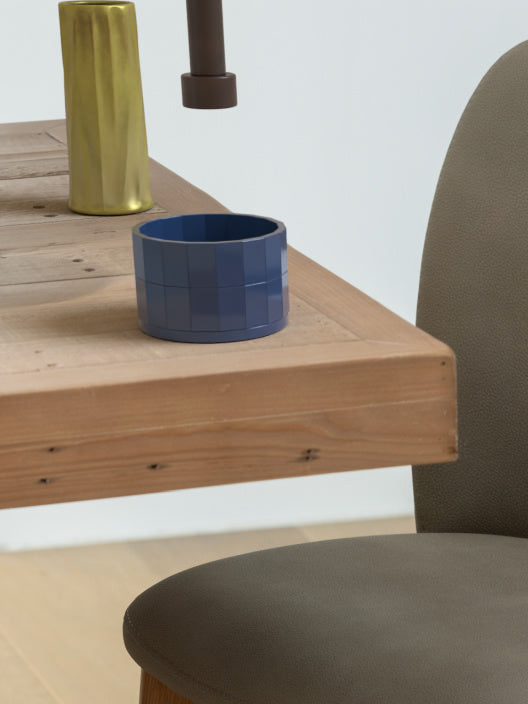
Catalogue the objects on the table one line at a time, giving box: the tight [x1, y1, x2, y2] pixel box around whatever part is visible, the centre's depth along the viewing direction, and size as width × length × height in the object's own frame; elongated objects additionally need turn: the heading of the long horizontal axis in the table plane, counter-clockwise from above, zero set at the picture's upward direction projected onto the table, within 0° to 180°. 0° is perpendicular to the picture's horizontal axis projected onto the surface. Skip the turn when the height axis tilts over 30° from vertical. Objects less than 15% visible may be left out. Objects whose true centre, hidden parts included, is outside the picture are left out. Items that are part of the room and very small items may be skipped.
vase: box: [57, 0, 155, 216], centre depth 111 cm, size 6×6×14 cm
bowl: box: [131, 212, 290, 344], centre depth 83 cm, size 8×8×5 cm
